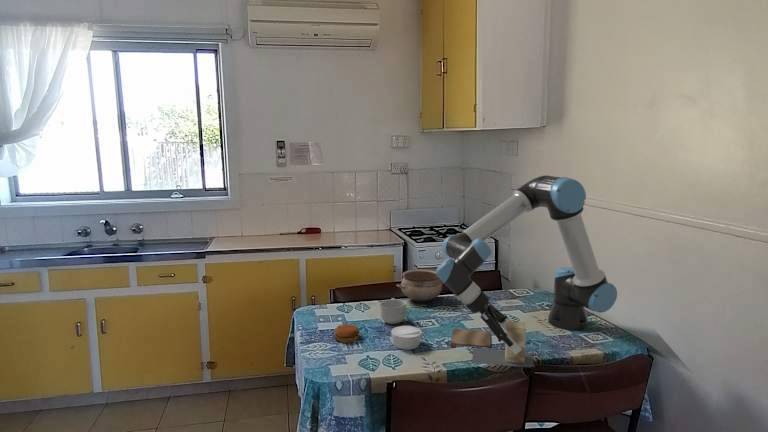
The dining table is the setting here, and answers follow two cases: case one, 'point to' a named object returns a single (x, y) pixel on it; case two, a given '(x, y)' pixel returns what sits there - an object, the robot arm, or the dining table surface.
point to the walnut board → (470, 338)
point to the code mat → (498, 358)
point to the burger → (346, 333)
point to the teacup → (393, 310)
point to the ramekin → (406, 337)
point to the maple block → (518, 335)
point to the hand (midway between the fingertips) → (517, 343)
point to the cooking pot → (421, 285)
